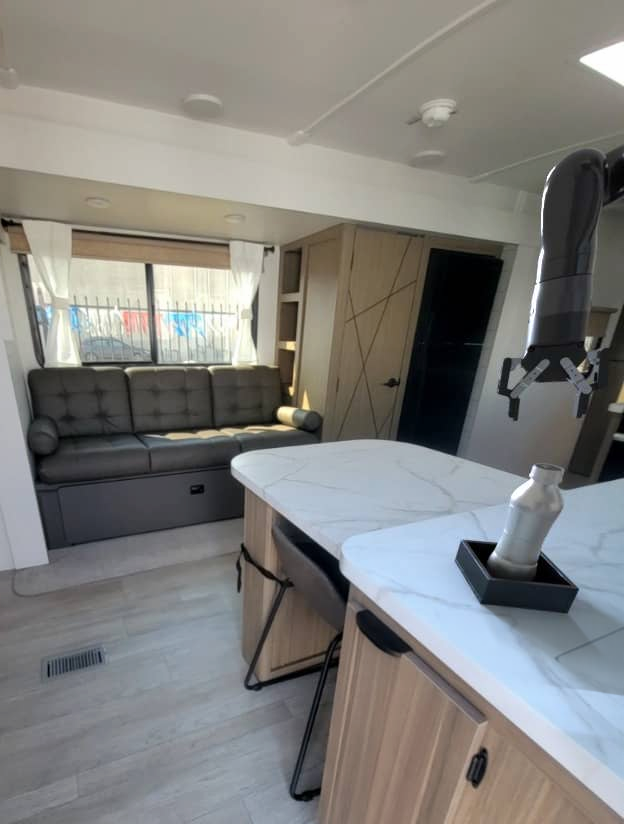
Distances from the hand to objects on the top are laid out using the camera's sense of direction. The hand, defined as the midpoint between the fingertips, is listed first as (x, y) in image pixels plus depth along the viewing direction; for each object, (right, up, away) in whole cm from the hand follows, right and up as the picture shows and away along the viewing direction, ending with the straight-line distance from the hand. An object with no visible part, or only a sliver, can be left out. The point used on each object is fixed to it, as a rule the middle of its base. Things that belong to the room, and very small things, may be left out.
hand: (544, 419), depth 68 cm
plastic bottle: (-7, -27, 0) cm, 28 cm away
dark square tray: (-7, -27, 0) cm, 28 cm away
